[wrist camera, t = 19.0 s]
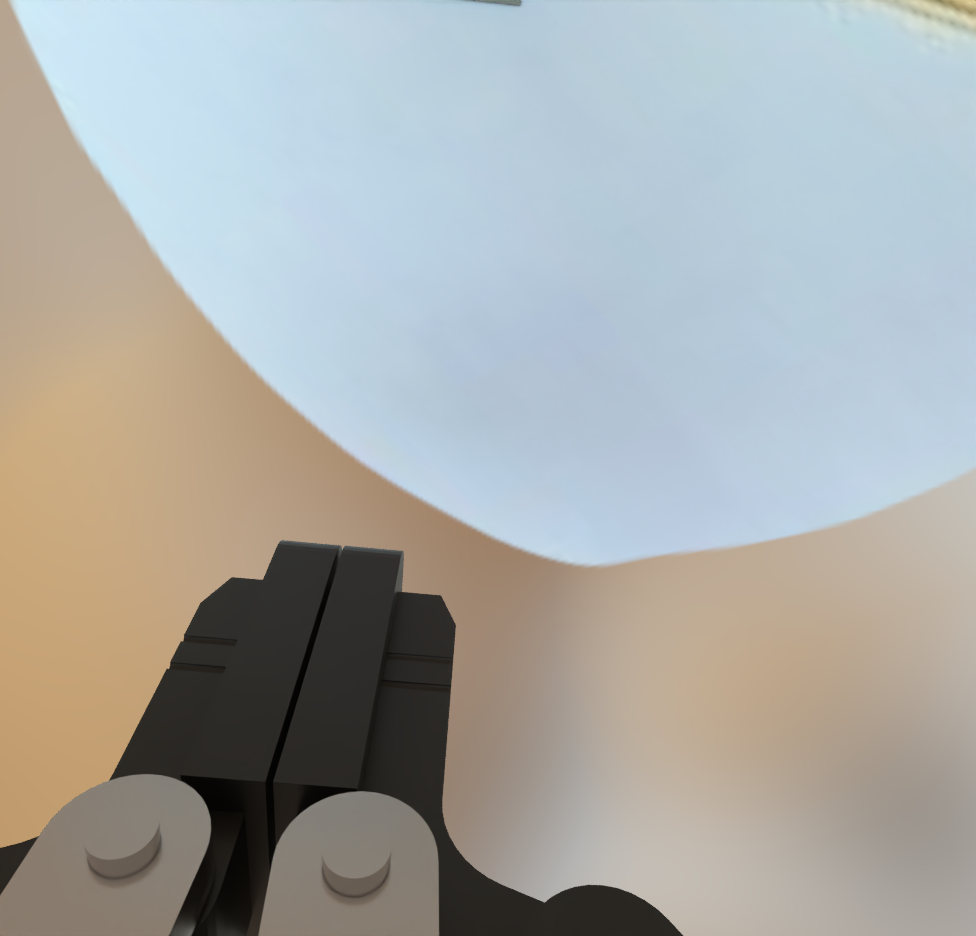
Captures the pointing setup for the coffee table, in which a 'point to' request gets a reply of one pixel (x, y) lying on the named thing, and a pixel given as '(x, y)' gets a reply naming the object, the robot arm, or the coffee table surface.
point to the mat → (504, 1)
